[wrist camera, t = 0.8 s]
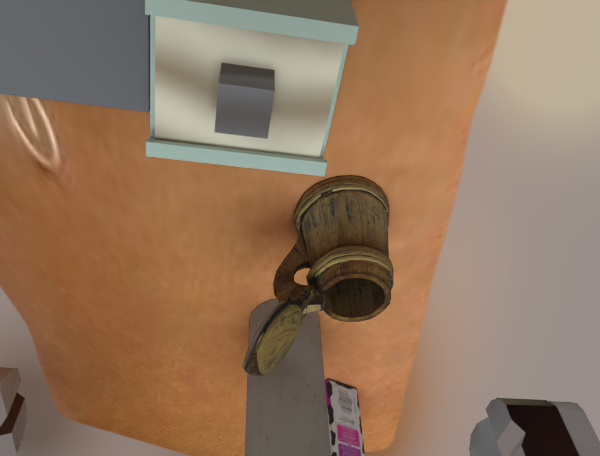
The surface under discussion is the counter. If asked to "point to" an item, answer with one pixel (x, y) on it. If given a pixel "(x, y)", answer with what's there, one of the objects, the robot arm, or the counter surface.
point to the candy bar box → (344, 420)
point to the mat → (76, 51)
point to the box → (267, 18)
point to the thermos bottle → (289, 396)
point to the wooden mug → (329, 265)
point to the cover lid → (243, 88)
